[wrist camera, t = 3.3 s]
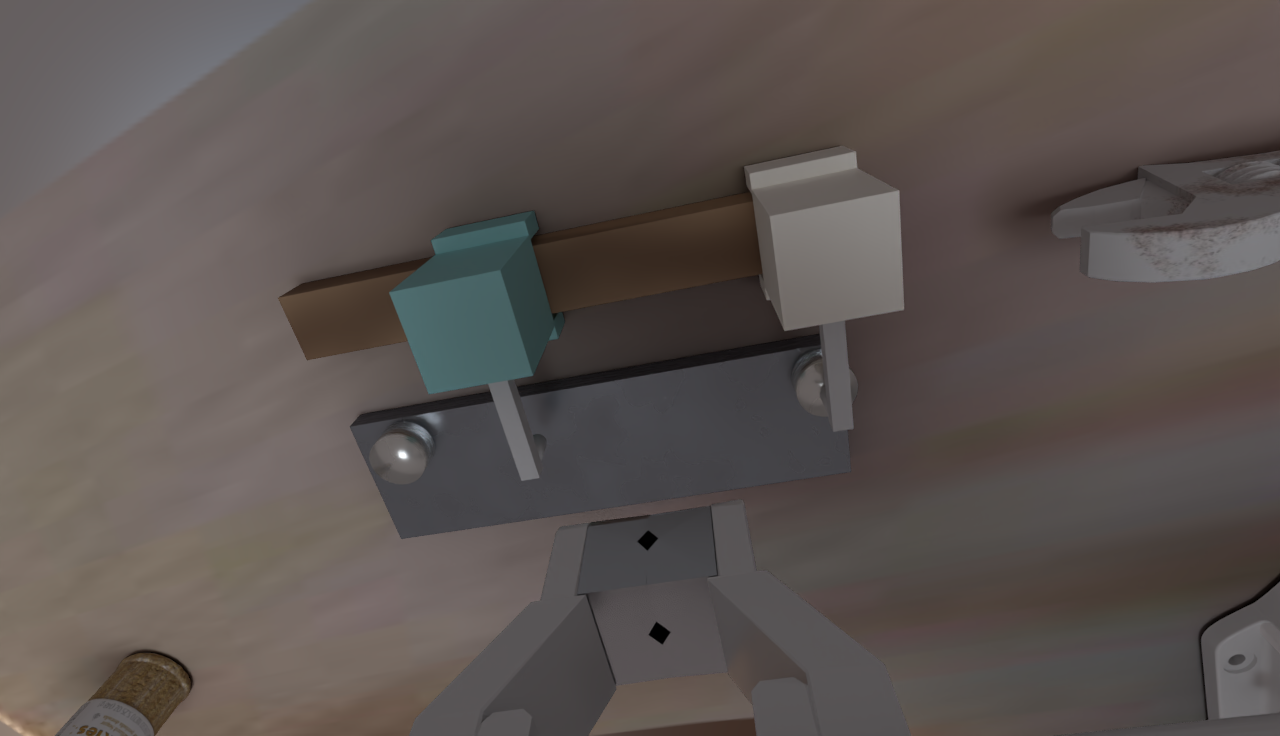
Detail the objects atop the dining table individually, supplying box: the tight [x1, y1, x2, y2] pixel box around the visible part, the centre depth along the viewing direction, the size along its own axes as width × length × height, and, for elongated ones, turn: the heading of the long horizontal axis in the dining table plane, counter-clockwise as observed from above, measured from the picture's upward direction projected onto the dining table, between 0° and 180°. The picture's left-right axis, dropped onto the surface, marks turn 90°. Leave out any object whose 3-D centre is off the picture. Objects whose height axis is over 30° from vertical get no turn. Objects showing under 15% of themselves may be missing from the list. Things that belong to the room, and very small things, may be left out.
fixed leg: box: [744, 146, 904, 432], centre depth 25 cm, size 10×4×7 cm, turn 12°
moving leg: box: [389, 211, 565, 481], centre depth 27 cm, size 10×4×7 cm, turn 12°
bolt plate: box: [350, 334, 858, 539], centre depth 31 cm, size 7×24×3 cm, turn 102°
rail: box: [278, 192, 763, 360], centre depth 28 cm, size 3×24×2 cm, turn 102°
